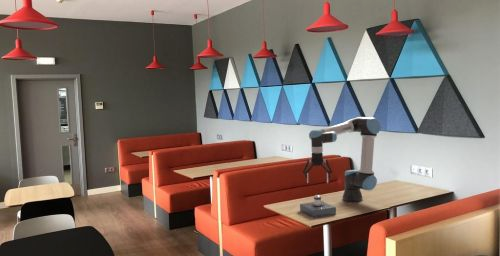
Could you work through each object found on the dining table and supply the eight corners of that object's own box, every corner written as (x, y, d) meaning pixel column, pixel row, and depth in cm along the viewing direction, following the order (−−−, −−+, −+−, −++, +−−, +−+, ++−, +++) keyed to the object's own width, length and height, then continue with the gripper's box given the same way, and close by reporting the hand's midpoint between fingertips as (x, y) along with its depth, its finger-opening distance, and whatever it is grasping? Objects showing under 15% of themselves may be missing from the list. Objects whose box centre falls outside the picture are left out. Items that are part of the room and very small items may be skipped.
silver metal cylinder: (314, 211, 288) (313, 194, 287) (321, 211, 288) (320, 195, 287) (314, 213, 284) (314, 196, 283) (321, 213, 283) (321, 196, 282)
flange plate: (321, 207, 297) (321, 201, 297) (336, 214, 281) (335, 207, 280) (300, 211, 290) (300, 204, 290) (313, 217, 274) (313, 210, 274)
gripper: (298, 153, 280) (299, 183, 282) (335, 153, 277) (336, 183, 279) (299, 151, 287) (299, 181, 289) (335, 151, 284) (335, 181, 286)
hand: (317, 182), depth 284 cm, fingers open, 13 cm apart
